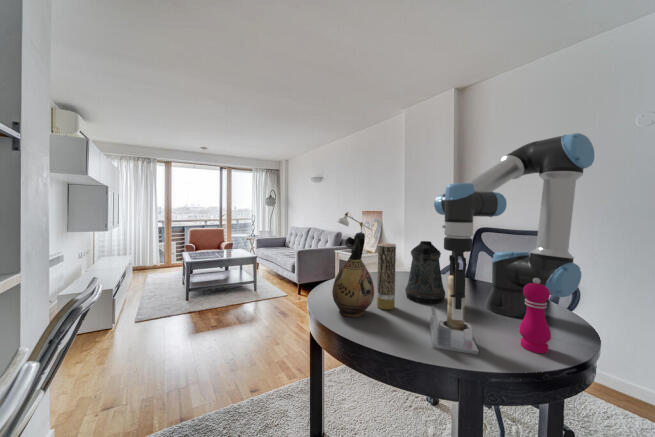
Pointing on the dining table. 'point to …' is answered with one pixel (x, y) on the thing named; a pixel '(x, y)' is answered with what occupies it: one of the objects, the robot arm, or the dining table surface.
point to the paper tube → (386, 276)
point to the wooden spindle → (450, 322)
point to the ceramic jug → (353, 281)
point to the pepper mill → (535, 318)
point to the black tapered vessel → (425, 275)
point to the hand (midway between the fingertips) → (455, 316)
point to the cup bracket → (451, 336)
